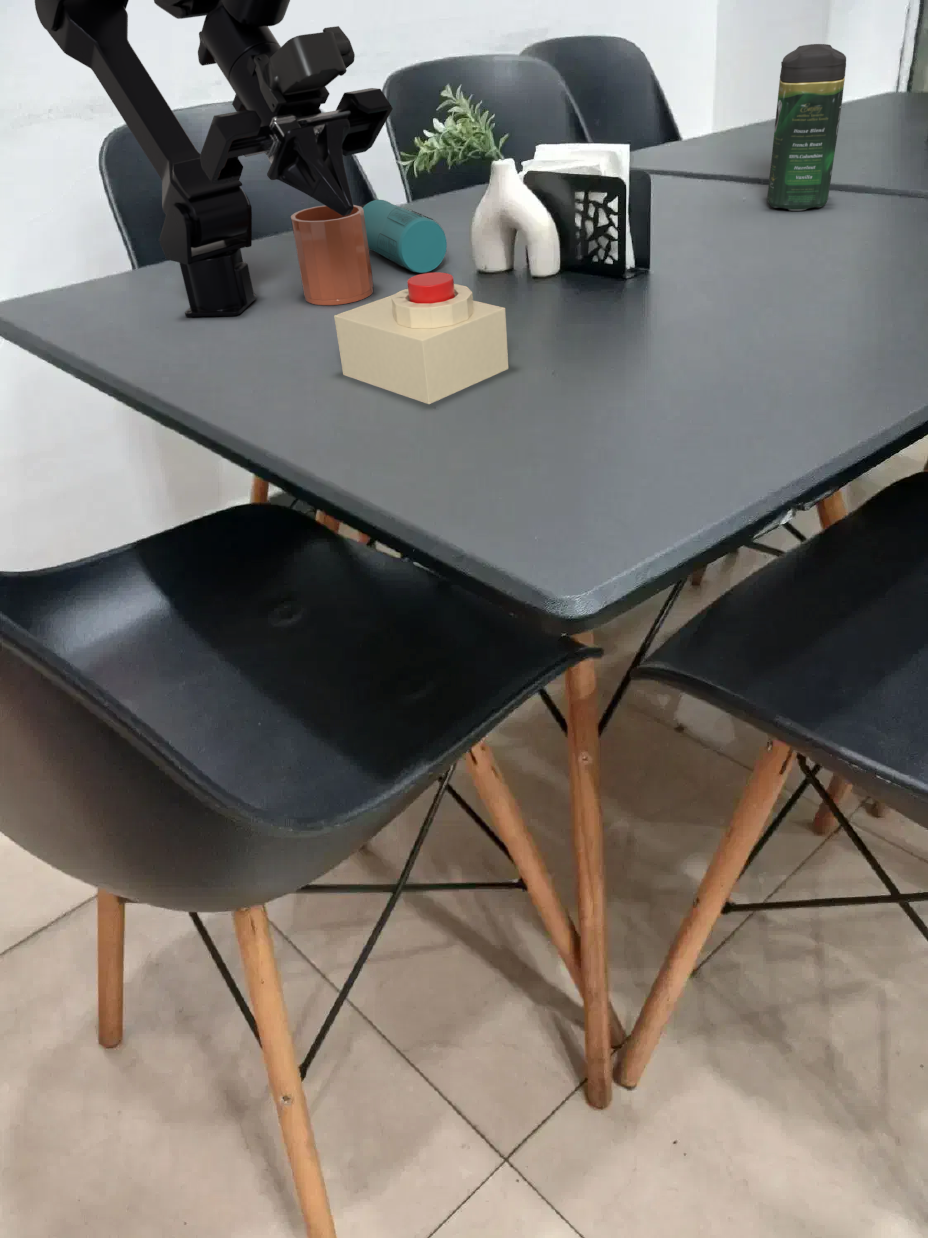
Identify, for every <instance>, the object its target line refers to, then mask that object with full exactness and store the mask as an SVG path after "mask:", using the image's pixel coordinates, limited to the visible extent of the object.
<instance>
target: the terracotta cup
mask: <svg viewBox="0 0 928 1238" xmlns="http://www.w3.org/2000/svg"><path fill="white" fill-rule="evenodd" d="M353 206H354V208H353V210H352V212H351V214H349V215H345V216H342V215H340V214H339V213H337V212H335V211H334V210H332V209H330V208H329V207H327V206H325V205H324V204H323V205H316V206H313V207H308V208H303V209H300V210H299V211H296V212H294V213H292V214H291V216H290V222H291V228H292V233H293V239H294V245H295V250H296V256H297V257H296V258H297V262H298V269H299V274H300V282H301V287H302V292H303V297H304V300H305V301H306V303H309V304H312V305H316V306H339V305H347V304H351V303H352V304H353V303H357V302H359V301H362V300H364V299H366V298H369V297H370V296H371V295H372V294H373V293H374V281H373V272H372V265H371V264H372V263H371V258H370V257H371V256H370V249H368V241H367V233H366V225H365V218H364V210H363V208H362V207H360V206H361V205H356V204H353Z"/></svg>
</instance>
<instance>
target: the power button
mask: <svg viewBox="0 0 928 1238" xmlns="http://www.w3.org/2000/svg"><path fill="white" fill-rule="evenodd" d="M454 281H455V280H454V276H453V275H452V274H450V273H447V272H438V271H437V272H427V273H426V272H425V273H423V274H422V273H419V274H416V275H414V276H411V277H410V278H408V280H407V282H406V283H407V288H408V292H409V301H410V302H413V303H425V304H431V303H438V302H444V301H447V300H450V299H452V298H455V292H454V284H455V282H454Z"/></svg>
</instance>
